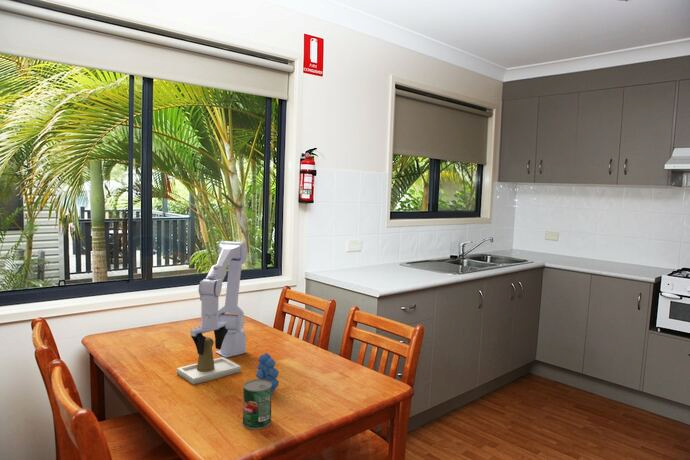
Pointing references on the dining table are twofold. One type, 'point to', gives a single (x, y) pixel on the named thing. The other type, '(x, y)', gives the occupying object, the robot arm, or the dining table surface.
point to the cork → (206, 357)
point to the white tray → (220, 370)
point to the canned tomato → (257, 404)
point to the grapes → (267, 370)
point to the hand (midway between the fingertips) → (209, 351)
